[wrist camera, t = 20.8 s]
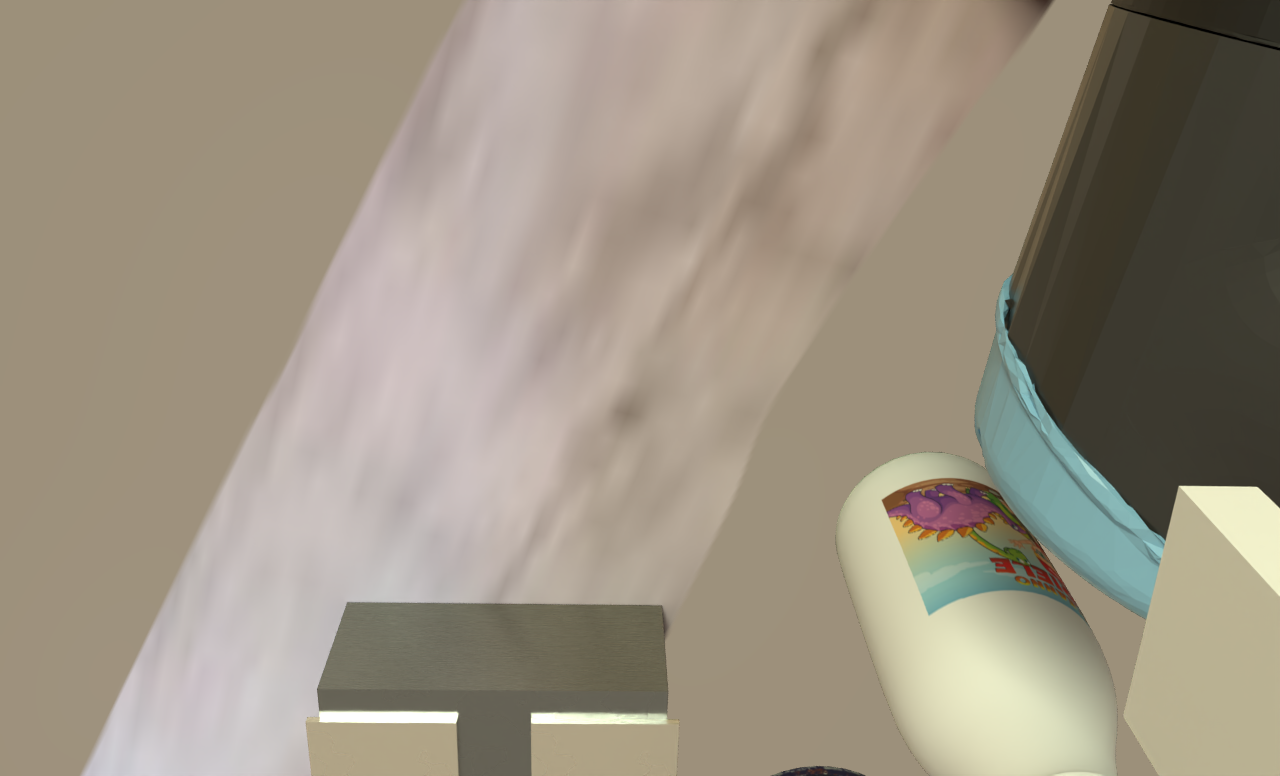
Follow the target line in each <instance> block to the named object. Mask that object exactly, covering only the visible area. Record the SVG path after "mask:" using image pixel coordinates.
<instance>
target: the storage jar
mask: <svg viewBox="0 0 1280 776" xmlns="http://www.w3.org/2000/svg"><path fill="white" fill-rule="evenodd" d="M772 776H865V775H862V774H860V773H857V772H854V771H851V770H847V769H843V768H836V767H824V766H813V767H802V768H796V769H792V770H788V771H783V772H780V773H777V774H775V775H772Z"/></svg>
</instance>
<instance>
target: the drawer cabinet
mask: <svg viewBox="0 0 1280 776" xmlns="http://www.w3.org/2000/svg"><path fill="white" fill-rule="evenodd" d="M317 693H318V703H319V712H320V717H307V720H306V729H307V738H308V748H309V757H310V766H311V775H312V776H677V760H678V742H679V720H677V719H674V720H673V719H672V720H670V719H667V705H668V682H667V669H666V655H665V641H664V628H663V614H662V606H652V605H551V604H451V603H350V602H347V605H346V608H345V611H344V613H343V616H342V619H341V622H340V625H339V628H338V631H337V633H336V636H335V639H334V642H333V645H332V648H331V651H330V654H329V656H328V659H327V662H326V665H325V668H324V671H323V674H322V677H321V679H320V682H319V685H318V688H317Z"/></svg>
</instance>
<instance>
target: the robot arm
mask: <svg viewBox="0 0 1280 776" xmlns="http://www.w3.org/2000/svg"><path fill="white" fill-rule="evenodd" d="M1111 3H1112V4H1110V5H1109V7H1108V9H1107V12H1106V15H1105V18H1104V20H1103V23H1102V26H1101V29H1100V32H1099V34H1098V37H1097V40H1096V43H1095V46H1094V49H1093V51H1092V54H1091V57H1090V60H1089V63H1088V65H1087V68H1086V71H1085V74H1084V77H1083V80H1082V82H1081V85H1080V88H1079V91H1078V93H1077V96H1076V99H1075V102H1074V105H1073V107H1072V110H1071V113H1070V116H1069V119H1068V122H1067V124H1066V127H1065V130H1064V133H1063V135H1062V138H1061V141H1060V144H1059V147H1058V149H1057V152H1056V155H1055V158H1054V161H1053V163H1052V166H1051V169H1050V172H1049V175H1048V177H1047V180H1046V183H1045V186H1044V189H1043V191H1042V194H1041V197H1040V200H1039V203H1038V205H1037V208H1036V211H1035V214H1034V217H1033V219H1032V222H1031V225H1030V228H1029V231H1028V233H1027V237H1026V239H1025V242H1024V245H1023V247H1022V250H1021V253H1020V256H1019V259H1018V261H1017V265H1016V267H1015V270H1014V273H1013V274H1012V275H1011V276H1010V277H1009V278H1007V279H1006V280H1005V281H1004V284H1003V286H1002V289H1001V291H1000V294H999V297H998V300H997V306H996V313H995V321H996V334H995V337H994V340H993V344H992V347H991V351H990V354H989V358H988V361H987V365H986V368H985V371H984V375H983V378H982V381H981V385H980V388H979V391H978V395H977V399H976V405H975V432H976V435H977V438H978V441H979V443H980V446H981V448H982V452H983V457H984V459H985V467H986V469H987V471H988V474H989V476H990V478H991V480H992V482H993V483H994V485H995V487H996V488H997V490H998V492H999V493H1000V495H1001V496H1002V497H1003V499H1004V500H1005V502H1006V503H1007V505H1008V506H1009V507H1010V509H1011V510H1012V511H1013V513H1014V514H1015V515H1016V516H1017V518H1018V519H1019V520H1020V521H1021V522H1022V524H1023V525H1024V526H1025V527H1026V528H1027V529H1028V530H1029V531H1030V532H1031V533H1032V534H1033V536H1034V537H1035V538H1036V539H1038V540H1039V541H1040V542H1041V543H1042V544H1043V545H1044V546H1045V547H1046V548H1047V549H1048V550H1049V551H1050V552H1052V553H1053V554H1054V555H1055V556H1056V557H1057V558H1058V559H1060V560H1061V561H1062V562H1063V563H1064V564H1065V565H1067V566H1068V567H1069V568H1070V569H1072V570H1073V571H1074V572H1075V573H1077V574H1078V575H1079V576H1080V577H1082V578H1083V579H1084V580H1086V581H1087V582H1088V583H1090V584H1091V585H1092V586H1094V587H1095V588H1097V589H1098V590H1099V591H1101V592H1103V593H1104V594H1105V595H1107V596H1108V597H1110V598H1111V599H1113V600H1115V601H1116V602H1118V603H1119V604H1121V605H1123V606H1124V607H1125V608H1127V609H1129V610H1131V611H1132V612H1134V613H1136V614H1137V615H1139V616H1141V617H1142V618H1144V619H1146V623H1145V628H1144V631H1143V636H1142V640H1141V644H1140V648H1139V652H1138V656H1137V661H1136V664H1135V668H1134V673H1133V677H1132V681H1131V685H1130V689H1129V693H1128V697H1127V701H1126V705H1125V709H1124V714H1123V717H1124V719H1125V721H1126V722H1127V724H1128V726H1129V727H1130V729H1131V731H1132V732H1133V734H1134V735H1135V737H1136V739H1137V740H1138V742H1139V744H1140V746H1141V747H1142V749H1143V751H1144V752H1145V754H1146V756H1147V757H1148V759H1149V760H1150V762H1151V764H1152V766H1153V767H1154V769H1155V771H1156V772H1157V774H1158V775H1159V776H1280V0H1112V2H1111Z"/></svg>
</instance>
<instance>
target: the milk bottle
mask: <svg viewBox="0 0 1280 776" xmlns="http://www.w3.org/2000/svg"><path fill="white" fill-rule="evenodd" d="M835 539H836V548H837V554H838V557H839V561H840V565H841V568H842V572H843V575H844V578H845V581H846V584H847V587H848V590H849V593H850V596H851V599H852V602H853V605H854V608H855V611H856V614H857V617H858V620H859V623H860V626H861V629H862V632H863V635H864V638H865V641H866V644H867V647H868V650H869V653H870V656H871V659H872V662H873V665H874V667H875V670H876V673H877V676H878V679H879V681H880V685H881V688H882V690H883V693H884V695H885V698H886V700H887V703H888V705H889V708H890V710H891V713H892V715H893V718H894V720H895V723H896V725H897V728H898V730H899V732H900V734H901V735H902V737H903V739H904V740H905V743H906V745H907V746H908V748H909V750H910V751H911V753H912V754H913V756H914V757H915V758H916V760H917V761H918V762H919V764H920V765H921V767H922V768H923V769H924V770H925V771H926V772H927V773H928V774H929V776H1118V775H1117V768H1116V739H1117V721H1118V716H1117V702H1116V694H1115V688H1114V685H1113V680H1112V677H1111V673H1110V670H1109V667H1108V664H1107V662H1106V659H1105V657H1104V654H1103V652H1102V650H1101V647H1100V645H1099V643H1098V641H1097V640H1096V637H1095V636H1094V634H1093V632H1092V630H1091V628H1090V627H1089V625H1088V623H1087V621H1086V619H1085V618H1084V616H1083V614H1082V612H1081V610H1080V609H1079V607H1078V606H1077V604H1076V602H1075V601H1074V599H1073V597H1072V596H1071V594H1070V593H1069V591H1068V590H1067V588H1066V586H1065V585H1064V583H1063V581H1062V579H1061V578H1060V576H1059V575H1058V573H1057V571H1056V570H1055V568H1054V566H1053V565H1052V563H1051V562H1050V560H1049V558H1048V557H1047V555H1046V554H1045V552H1044V550H1043V549H1042V548H1041V546H1040V544H1039V543H1038V541H1037V539H1036V538H1035V537H1034V536H1033V534H1032V533H1031V532H1030V531H1029V530H1028V529H1027V528H1026V527H1025V526H1024V525H1023V524H1022V522H1021V521H1020V520H1019V519H1018V518H1017V516H1016V515H1015V514H1014V513H1013V511H1012V510H1011V509H1010V507H1009V506H1008V505H1007V503H1006V502H1005V500H1004V499H1003V497H1002V496H1001V495H1000V493H999V492H998V490H997V488H996V487H995V485H994V483H993V482H992V480H991V478H990V476H989V474H988V471H987V470H986V469H985V468H984V467H982V466H980V465H979V464H977V463H975V462H973V461H971V460H969V459H966V458H964V457H960V456H957V455H952V454H948V453H942V452H921V453H915V454H908V455H905V456H902V457H899V458H896V459H892V460H890V461H888V462H887V463H885V464H883V465H881V466H879V467H877V468H876V469H874V470H873V471H872V472H871V473H869V474H868V475H867V476H865V477H864V478H863V479H862V480H861V481H860V482H859V484H858V485H857V486H856V487H855V488H854V489H853V490H852V492H851V493H850V495H849V497H848V499H847V500H846V501H845V503H844V505H843V507H842V510H841V512H840V515H839V518H838V521H837V526H836V535H835Z"/></svg>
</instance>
